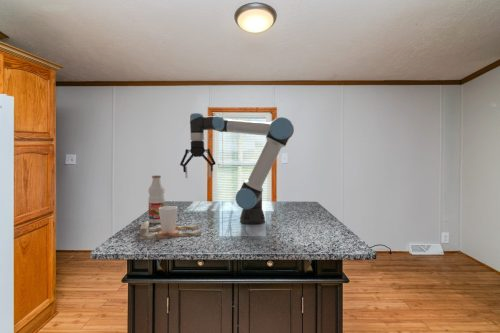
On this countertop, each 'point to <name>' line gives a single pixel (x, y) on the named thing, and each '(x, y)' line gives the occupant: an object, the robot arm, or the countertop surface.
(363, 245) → the countertop surface
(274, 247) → the countertop surface
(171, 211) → the foam cup
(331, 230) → the countertop surface
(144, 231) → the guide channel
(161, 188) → the fruit juice
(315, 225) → the countertop surface
